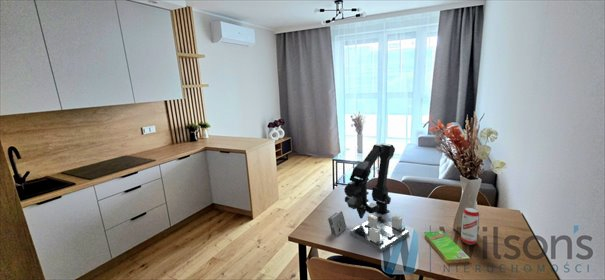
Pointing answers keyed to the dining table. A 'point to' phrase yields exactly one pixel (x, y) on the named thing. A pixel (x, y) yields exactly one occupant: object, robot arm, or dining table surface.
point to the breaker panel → (387, 234)
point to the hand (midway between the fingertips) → (361, 218)
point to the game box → (446, 247)
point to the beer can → (470, 225)
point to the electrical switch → (337, 223)
